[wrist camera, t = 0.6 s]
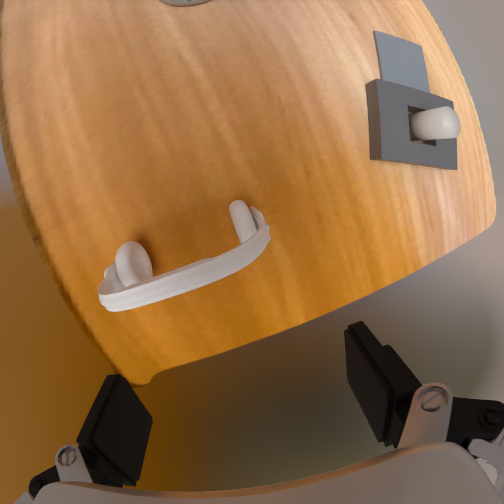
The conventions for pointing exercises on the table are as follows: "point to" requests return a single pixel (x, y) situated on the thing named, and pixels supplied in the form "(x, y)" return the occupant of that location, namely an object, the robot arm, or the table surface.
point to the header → (405, 126)
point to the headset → (184, 278)
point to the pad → (401, 61)
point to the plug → (434, 124)
